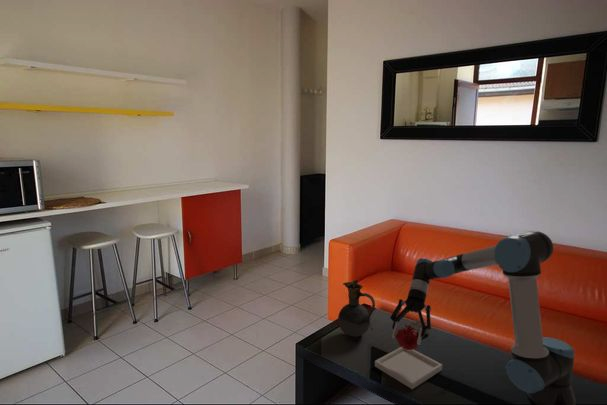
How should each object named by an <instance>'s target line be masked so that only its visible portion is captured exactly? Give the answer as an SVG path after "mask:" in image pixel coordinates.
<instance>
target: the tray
mask: <svg viewBox="0 0 607 405" xmlns="http://www.w3.org/2000/svg"><path fill="white" fill-rule="evenodd" d="M374 367H375V368H377V369H378V370H380V371H382V372H384V373H385V374H387V375H388V376H389V377H391V378H394V379H395V380H396V381H398V382H400V383H401V384H403V385H405V386H406V387H408V388H409V389H411V390H413V389H415V388H417V387H418V386H420V385H421V384H423V383H424V382H426V381H427V380H429V379H431V378H432V377H434V376H435V375H436V374H438V373H440V372H442V371H443V364H442V363H440V362H438V361H436V360H435V359H432V358H431V357H429V356H427V355H425V354H423V353H421V352H420V351H417V350H415V349H413V350H406V349H404V348H402V347H401V346H400V347H398V348H396V349H395V350H393V351H390V352H389V353H387V354H385V355H383V356H381V357H379V358H377V359H375V361H374Z"/></svg>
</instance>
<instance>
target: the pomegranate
mask: <svg viewBox="0 0 607 405" xmlns="http://www.w3.org/2000/svg"><path fill="white" fill-rule="evenodd" d="M406 327H407V326H406ZM406 327H403V328H399V329H398V331H397V334H396V338H395V340H396V342H397V344H398V345H399V346H400V347H402V348H404V349H406V350H415V349H417V348H419V346H420V345H418V344H417V340H418V335H419V333H418V332H417V331H415V330H412V329H414V328H411V326H410V325H409V326H408V327H409V328H408V327H407V328H406ZM410 328H411V329H410Z"/></svg>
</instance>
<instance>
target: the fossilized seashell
mask: <svg viewBox="0 0 607 405" xmlns="http://www.w3.org/2000/svg"><path fill="white" fill-rule="evenodd" d="M409 325H410V326H411V328H414V329H412V330H415V331H417V332H418V333H419V331H420V328H423V327H422V324H421V321H420V320H416V321H411V322H406V323H405V324H404V328H405V329H407V327H408V326H409ZM406 326H407V327H406ZM425 326H427V324H425ZM408 328H409V327H408ZM411 328H410V329H411ZM428 334H430V330H426V332H425V336H426V335H428Z"/></svg>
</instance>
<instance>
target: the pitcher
mask: <svg viewBox="0 0 607 405" xmlns="http://www.w3.org/2000/svg"><path fill="white" fill-rule="evenodd" d="M359 282H360V280H359V279H355V280H352V281H350V282H349V281H348V282H343V283H342V285H344V286H345V287H346V288H347V290H348V296H347V297H348V304H345V305H344V306H342V308H341V309H340V310H339V313H338V316H337V317H338V318H337V322H338V325H339V326H338V327H340V329H341V331H342V332H343V333H344V334H346V338H347V339H348V340H352V341H360V340H362V339H363V335H365V333H366V332H367V331H368V330H369V328H370V329H371V330H372V331H374V328H373V326H372V325H371V316H372V314H373V312H374V309H375V307H376V301H375V298H374V296H372V295H371V294H369V293H367V292H363V293H362V292H361V289H363V287H364V285H362V284H359ZM361 297H366V298H368V299H370V301H371V306H372V307H371V311H370V313H369V310H368V309H367V308H366V307H365V306H364V305H362V304H360V298H361Z"/></svg>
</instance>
